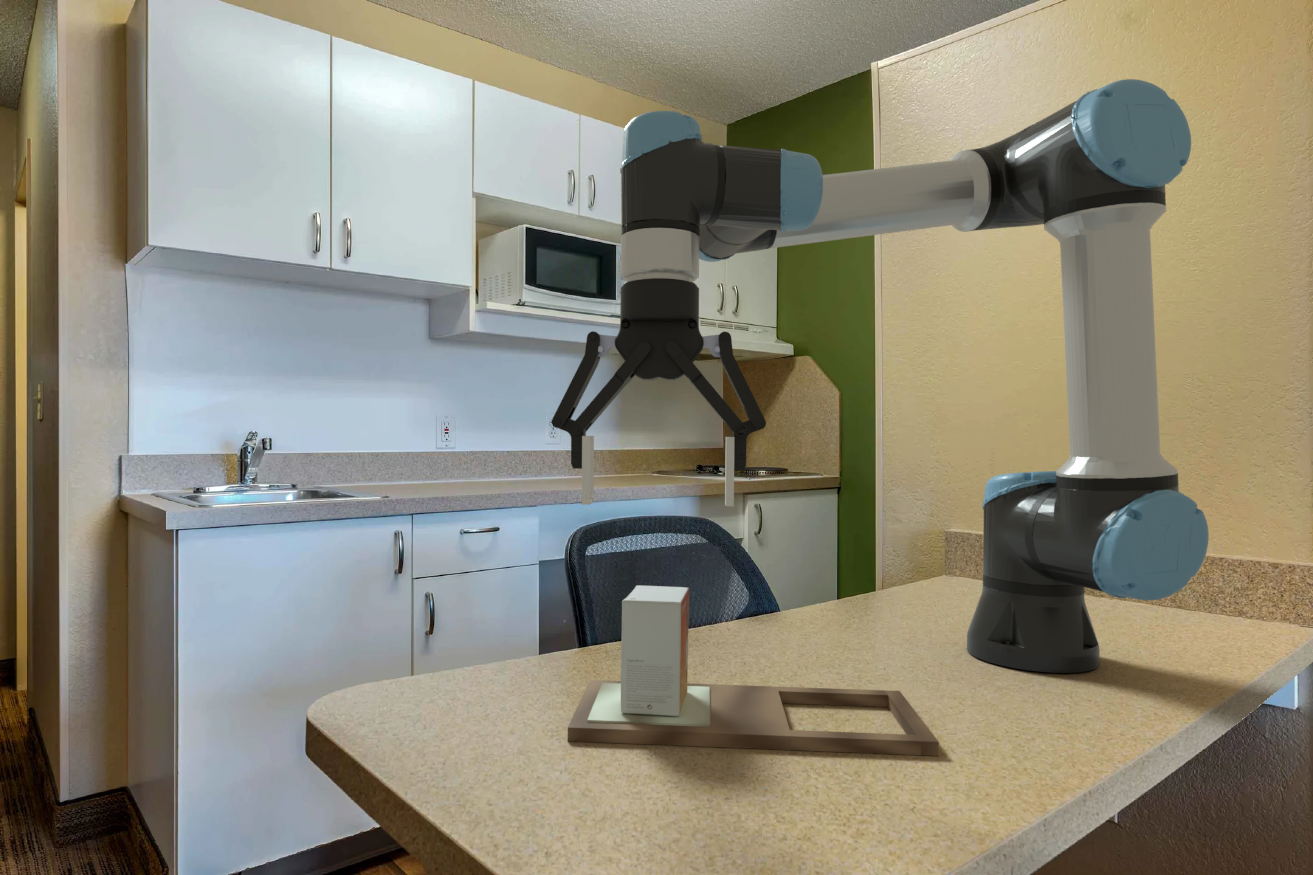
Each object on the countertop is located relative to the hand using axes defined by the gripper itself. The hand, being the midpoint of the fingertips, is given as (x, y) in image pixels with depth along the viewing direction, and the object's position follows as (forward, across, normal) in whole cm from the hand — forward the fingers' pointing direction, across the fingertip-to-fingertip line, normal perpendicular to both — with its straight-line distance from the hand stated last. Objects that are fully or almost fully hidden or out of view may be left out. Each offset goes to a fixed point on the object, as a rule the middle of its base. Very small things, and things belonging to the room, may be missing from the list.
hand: (658, 504), depth 78 cm
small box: (+19, 0, 0) cm, 19 cm away
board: (+20, -9, 0) cm, 22 cm away
